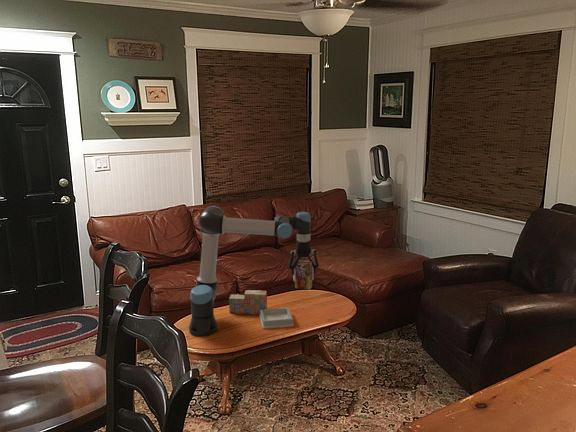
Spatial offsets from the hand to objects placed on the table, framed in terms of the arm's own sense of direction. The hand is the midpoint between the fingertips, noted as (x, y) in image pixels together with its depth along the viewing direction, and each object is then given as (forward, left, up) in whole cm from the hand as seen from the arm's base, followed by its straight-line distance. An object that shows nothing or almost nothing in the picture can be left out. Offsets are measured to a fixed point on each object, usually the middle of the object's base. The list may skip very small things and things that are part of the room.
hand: (303, 279), depth 276 cm
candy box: (0, 0, -5) cm, 5 cm away
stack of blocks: (-30, +16, -23) cm, 41 cm away
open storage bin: (-16, 0, -23) cm, 28 cm away
